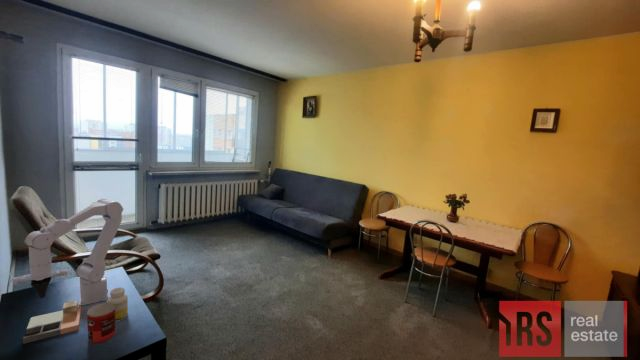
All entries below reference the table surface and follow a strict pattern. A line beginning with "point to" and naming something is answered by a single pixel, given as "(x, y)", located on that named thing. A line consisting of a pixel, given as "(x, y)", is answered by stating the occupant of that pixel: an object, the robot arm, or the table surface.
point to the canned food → (101, 322)
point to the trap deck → (51, 325)
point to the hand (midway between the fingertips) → (42, 296)
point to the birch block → (70, 309)
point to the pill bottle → (119, 303)
